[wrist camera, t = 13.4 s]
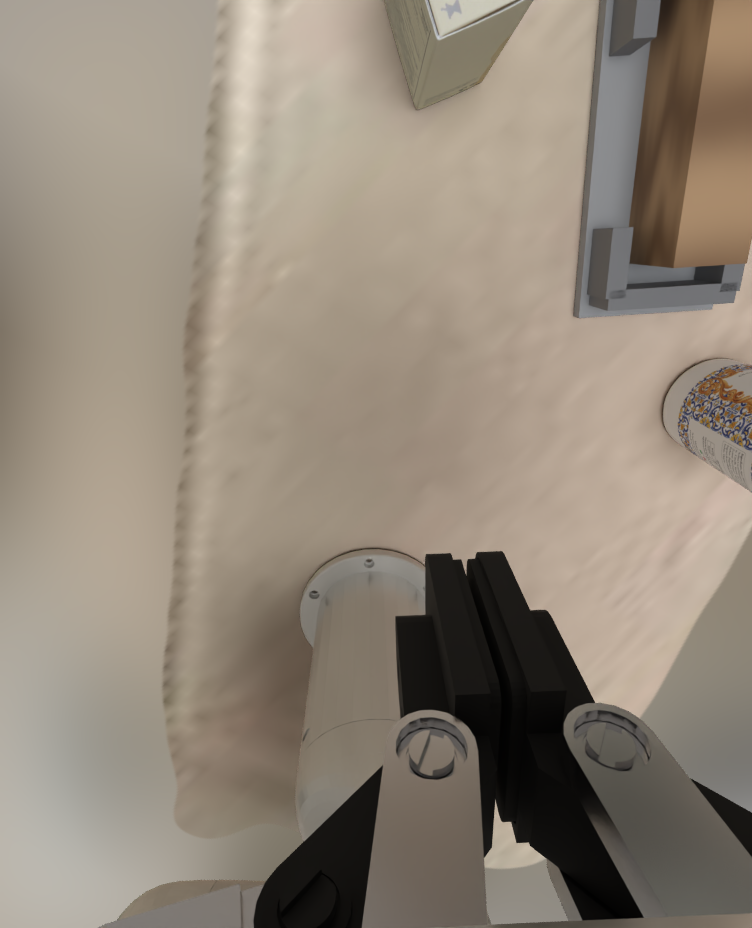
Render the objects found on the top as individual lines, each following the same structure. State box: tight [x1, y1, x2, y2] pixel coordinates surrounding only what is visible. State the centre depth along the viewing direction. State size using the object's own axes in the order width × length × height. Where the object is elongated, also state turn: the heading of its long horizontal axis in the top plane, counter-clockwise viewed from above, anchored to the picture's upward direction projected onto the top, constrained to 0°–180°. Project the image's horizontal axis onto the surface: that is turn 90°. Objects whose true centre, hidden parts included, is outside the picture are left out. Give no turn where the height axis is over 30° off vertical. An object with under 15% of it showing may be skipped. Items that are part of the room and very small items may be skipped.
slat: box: [629, 0, 752, 268], centre depth 29 cm, size 14×4×6 cm, turn 3°
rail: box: [574, 0, 745, 318], centre depth 31 cm, size 20×9×4 cm, turn 4°
